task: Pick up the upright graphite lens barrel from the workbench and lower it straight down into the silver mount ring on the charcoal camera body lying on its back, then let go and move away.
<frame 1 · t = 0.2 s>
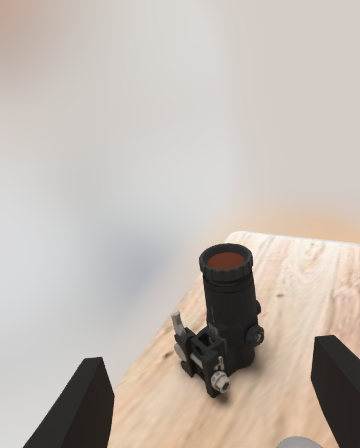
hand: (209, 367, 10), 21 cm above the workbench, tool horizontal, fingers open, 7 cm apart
scope: (230, 360, 36), on the workbench
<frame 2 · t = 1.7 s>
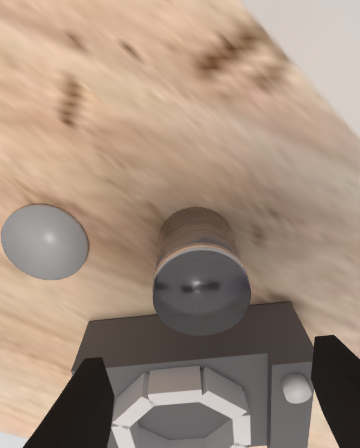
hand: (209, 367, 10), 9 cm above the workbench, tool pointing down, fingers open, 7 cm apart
lens: (195, 240, 18), on the workbench
camera body: (181, 358, 23), on the workbench
grey domed disc: (49, 239, 19), on the workbench
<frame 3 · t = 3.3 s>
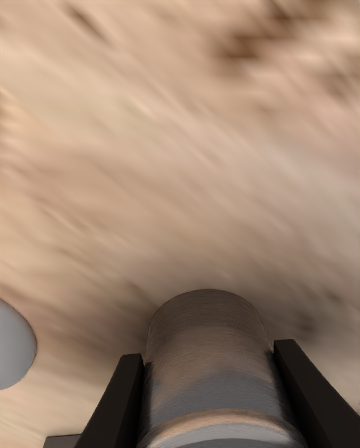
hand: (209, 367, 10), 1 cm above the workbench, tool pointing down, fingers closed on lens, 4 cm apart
lens: (205, 335, 12), on the workbench, touching gripper
when the fingers open (6 cm above the workbench, at t = 6.7 s): lens stays where it is, resting on camera body.
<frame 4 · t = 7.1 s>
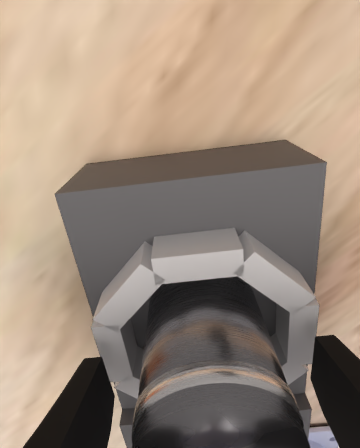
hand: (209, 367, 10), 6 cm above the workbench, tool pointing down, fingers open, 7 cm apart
lens: (202, 310, 12), point 4 cm above the workbench, touching camera body
camera body: (197, 264, 16), on the workbench
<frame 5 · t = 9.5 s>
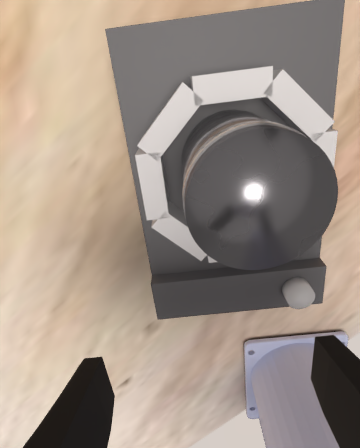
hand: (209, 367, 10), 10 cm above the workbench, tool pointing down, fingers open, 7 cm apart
lens: (230, 160, 14), point 4 cm above the workbench, touching camera body
camera body: (219, 150, 17), on the workbench
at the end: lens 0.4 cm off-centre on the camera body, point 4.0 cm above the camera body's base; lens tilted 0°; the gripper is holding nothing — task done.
